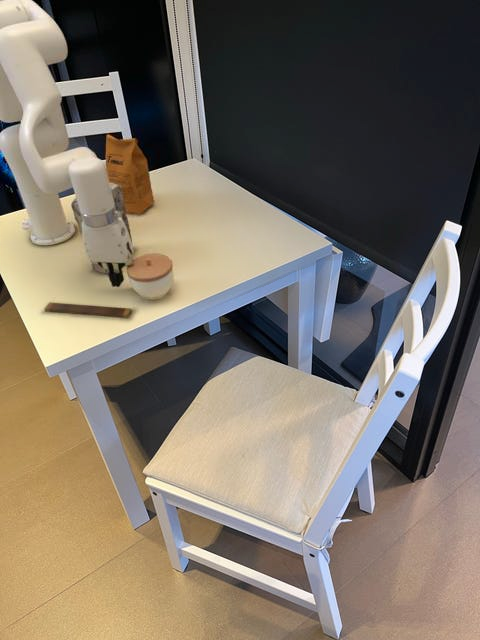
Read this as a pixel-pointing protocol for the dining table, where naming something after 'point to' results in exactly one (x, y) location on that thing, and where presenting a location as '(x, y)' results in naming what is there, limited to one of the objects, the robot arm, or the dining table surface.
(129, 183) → the coffee package
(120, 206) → the stone block
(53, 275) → the dining table surface
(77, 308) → the walnut straight-edge
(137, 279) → the trinket box
